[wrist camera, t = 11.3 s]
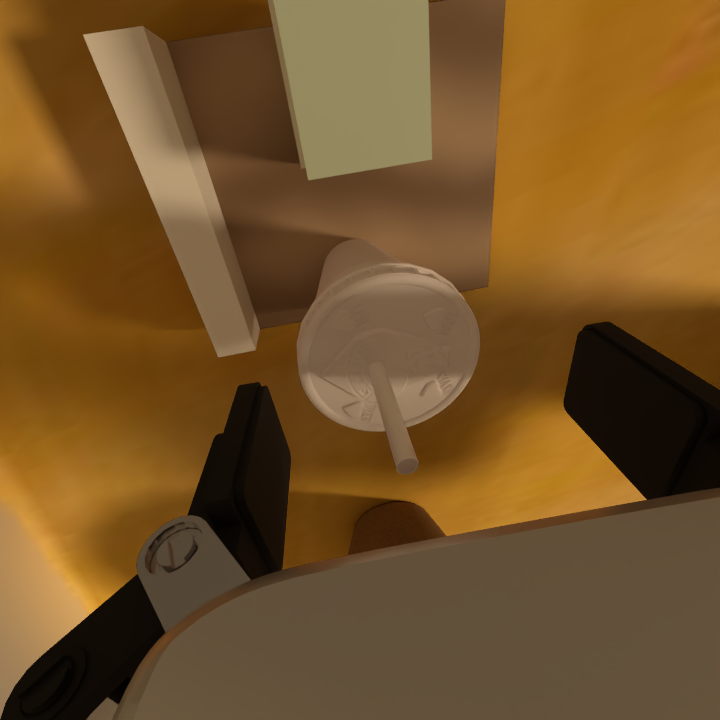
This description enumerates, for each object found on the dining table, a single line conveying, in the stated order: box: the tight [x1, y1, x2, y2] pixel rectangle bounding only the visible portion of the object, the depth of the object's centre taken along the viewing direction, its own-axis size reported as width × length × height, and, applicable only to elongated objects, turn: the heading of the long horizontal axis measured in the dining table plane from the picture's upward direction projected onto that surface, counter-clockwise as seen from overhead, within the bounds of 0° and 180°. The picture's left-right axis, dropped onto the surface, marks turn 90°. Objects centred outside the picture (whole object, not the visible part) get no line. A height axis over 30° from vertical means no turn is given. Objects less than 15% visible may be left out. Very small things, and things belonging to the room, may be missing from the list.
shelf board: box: [166, 0, 506, 329], centre depth 18 cm, size 13×16×1 cm
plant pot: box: [348, 502, 446, 555], centre depth 29 cm, size 15×15×16 cm
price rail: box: [83, 26, 260, 357], centre depth 17 cm, size 13×2×4 cm, turn 8°
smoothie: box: [296, 239, 480, 474], centre depth 14 cm, size 6×6×14 cm
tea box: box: [268, 0, 432, 180], centre depth 13 cm, size 5×4×7 cm
